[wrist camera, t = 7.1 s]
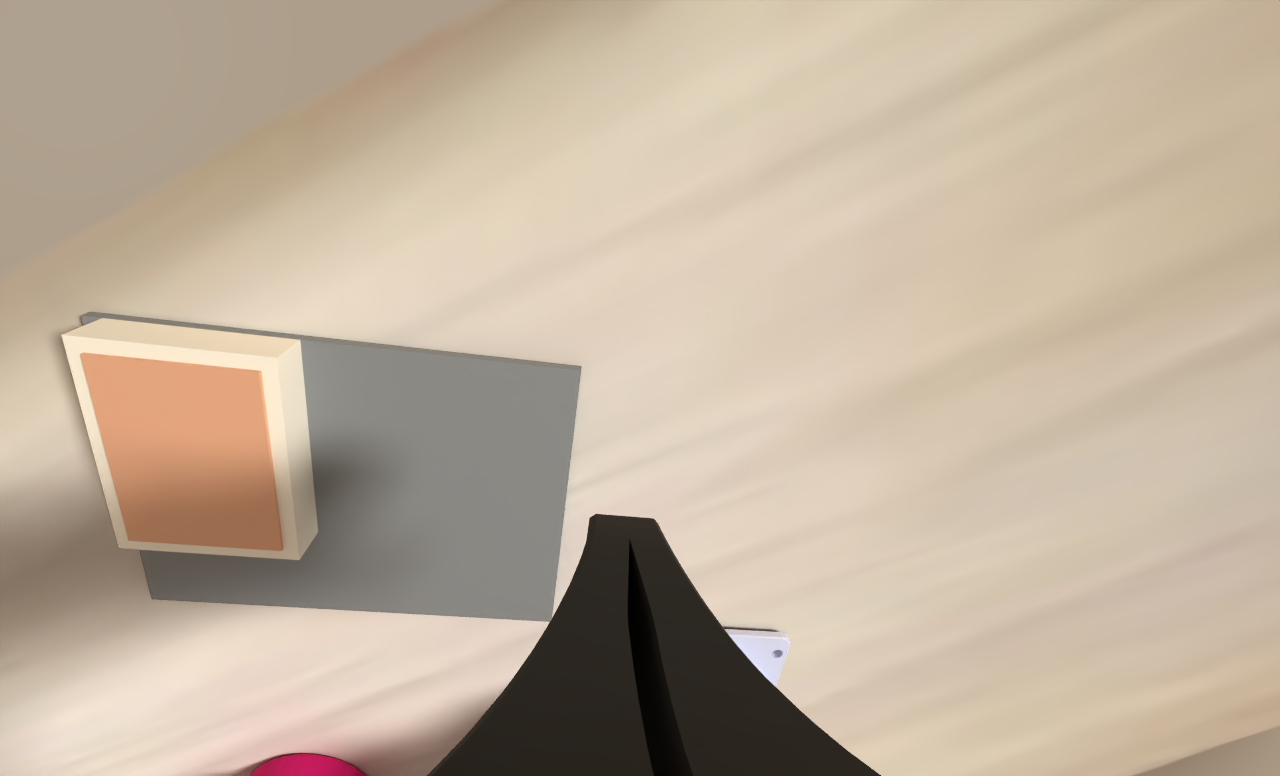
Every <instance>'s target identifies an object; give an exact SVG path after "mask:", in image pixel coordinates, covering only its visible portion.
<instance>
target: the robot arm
mask: <svg viewBox="0 0 1280 776" xmlns="http://www.w3.org/2000/svg"><path fill="white" fill-rule="evenodd" d="M789 647H790V641H789V638H788V636H787V635H786V634H785V633H782V632H770V631H752V630H735V629H724V628H723V627H722V626H721V624H720V623H719V621H718V620H717V619H716V617H715V616H714V615H713V613H712V612H711V611H710V609H709V608H708V606H707V605H706V604H705V602H704V601H703V599H702V598H701V596H700V595H699V593H698V592H697V590H696V589H695V587H694V586H693V584H692V583H691V581H690V579H689V578H688V576H687V575H686V573H685V572H684V570H683V568H682V567H681V565H680V563H679V562H678V560H677V558H676V556H675V555H674V553H673V551H672V549H671V548H670V546H669V544H668V542H667V540H666V539H665V537H664V535H663V533H662V531H661V529H660V527H659V525H658V523H657V522H656V521H655V520H654V519H652V518H640V517H627V516H615V515H602V514H595V515H594V516H592V517H591V518H590V519H589V526H588V534H587V541H586V544H585V547H584V550H583V553H582V556H581V559H580V561H579V564H578V566H577V569H576V571H575V573H574V576H573V578H572V581H571V583H570V585H569V587H568V589H567V591H566V593H565V595H564V597H563V599H562V601H561V603H560V605H559V607H558V609H557V611H556V612H555V614H554V616H553V618H552V620H551V621H550V623H549V625H548V626H547V628H546V630H545V631H544V633H543V635H542V636H541V638H540V640H539V641H538V643H537V644H536V646H535V647H534V649H533V650H532V652H531V653H530V655H529V656H528V658H527V659H526V661H525V662H524V663H523V665H522V666H521V668H520V669H519V671H518V672H517V673H516V675H515V676H514V678H513V679H512V680H511V682H510V683H509V684H508V686H507V687H506V688H505V689H504V691H503V692H502V693H501V695H500V696H499V697H498V698H497V699H496V701H495V702H494V703H493V704H492V705H491V707H490V708H489V709H488V710H487V711H486V713H485V714H484V715H483V716H482V717H481V719H480V720H479V721H478V722H477V723H476V725H475V726H474V727H473V728H472V729H471V730H470V731H469V733H468V734H467V735H466V736H465V737H464V738H463V739H462V740H461V741H460V742H459V743H458V744H457V745H456V746H455V748H454V749H453V750H452V751H451V752H450V753H449V754H448V755H447V756H446V757H445V758H444V759H443V760H442V761H441V762H440V763H439V764H438V765H437V766H436V767H435V768H434V769H433V770H432V771H431V772H430V773H429V774H428V775H427V776H881V775H879V774H878V773H877V772H875V771H874V770H873V769H871V768H870V767H869V766H867V765H866V764H865V763H863V762H862V761H861V760H859V759H858V758H857V757H855V756H854V755H852V754H851V753H850V752H848V751H847V750H846V749H845V748H843V747H842V746H841V745H840V744H839V743H837V742H836V741H835V740H834V739H833V738H831V737H830V736H829V735H828V734H827V733H825V732H824V731H823V730H822V729H821V728H819V727H818V726H817V725H816V724H815V723H814V722H812V721H811V720H810V719H809V718H808V717H807V716H806V715H805V714H803V713H802V712H801V711H800V710H799V709H798V708H797V707H796V706H795V705H794V704H793V703H792V702H791V701H790V700H789V699H788V698H787V697H785V696H784V695H783V694H782V693H781V692H780V691H779V690H778V689H777V688H776V684H777V681H778V679H779V676H780V673H781V670H782V667H783V664H784V661H785V659H786V656H787V653H788V650H789ZM775 650H777V651H775Z"/></svg>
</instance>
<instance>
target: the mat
mask: <svg viewBox="0 0 1280 776" xmlns="http://www.w3.org/2000/svg"><path fill="white" fill-rule="evenodd" d="M101 318H107V319H116V320H125V321H134V322H143V323H152V324H161V325H170V326H179V327H188V328H198V329H207V330H216V331H225V332H234V333H243V334H252V335H261V336H270V337H279V338H288V339H297V340H300V342H301V353H302V363H303V374H304V385H305V396H306V406H307V417H308V428H309V439H310V450H311V460H312V471H313V482H314V493H315V503H316V514H317V525H318V533H317V535H316V536H315V538H314V539H313V541H312V542H311V544H310V545H309V547H308V548H307V550H306V551H305V553H304V554H303V556H302V557H301V559H300V560H289V559H274V558H259V557H244V556H228V555H213V554H198V553H183V552H168V551H153V550H140V554H141V558H142V562H143V566H144V570H145V574H146V578H147V582H148V586H149V590H150V594H151V598H152V599H158V600H176V601H194V602H211V603H229V604H247V605H264V606H282V607H300V608H317V609H335V610H353V611H371V612H388V613H406V614H424V615H441V616H459V617H477V618H494V619H512V620H530V621H547V622H550V621H551V620H552V611H553V603H554V594H555V586H556V577H557V569H558V561H559V552H560V544H561V535H562V527H563V518H564V510H565V501H566V493H567V484H568V476H569V467H570V459H571V450H572V442H573V433H574V425H575V416H576V408H577V399H578V391H579V382H580V374H581V366H573V365H564V364H555V363H546V362H537V361H528V360H519V359H510V358H501V357H492V356H483V355H474V354H465V353H456V352H447V351H438V350H429V349H420V348H411V347H402V346H393V345H384V344H375V343H366V342H357V341H348V340H339V339H330V338H321V337H312V336H303V335H294V334H285V333H276V332H267V331H258V330H249V329H240V328H231V327H222V326H213V325H204V324H195V323H186V322H177V321H168V320H159V319H150V318H141V317H132V316H123V315H114V314H105V313H96V312H89V313H86V314H84V315H81V319H82V323H83V326H84V325H87V324H89V323H92V322H94V321H96V320H99V319H101Z"/></svg>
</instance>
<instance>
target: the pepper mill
mask: <svg viewBox="0 0 1280 776" xmlns="http://www.w3.org/2000/svg"><path fill="white" fill-rule="evenodd" d="M250 776H365V774H363V773H362V772H361V771H359V770H358V769H357V768H355V767H354V766H352V765H350V764H348V763H346V762H343V761H341V760H338V759H336V758H332V757H328V756H323V755H315V754H295V755H288V756H282V757H279V758H276V759H272V760H270V761H268V762H266V763H265V764H263V765H261V766H260V767H258V768H257V769H255V770H254V771H253V772H252V773H251V774H250Z"/></svg>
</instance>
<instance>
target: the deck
mask: <svg viewBox="0 0 1280 776" xmlns="http://www.w3.org/2000/svg"><path fill="white" fill-rule="evenodd" d="M62 339H63V343H64V346H65V350H66V354H67V358H68V361H69V365H70V369H71V372H72V376H73V380H74V384H75V387H76V391H77V395H78V398H79V402H80V406H81V410H82V413H83V417H84V421H85V424H86V428H87V432H88V436H89V439H90V443H91V447H92V450H93V454H94V458H95V462H96V465H97V469H98V473H99V476H100V480H101V484H102V488H103V491H104V495H105V499H106V503H107V506H108V510H109V514H110V517H111V521H112V525H113V529H114V532H115V536H116V540H117V543H118V547H119V548H122V549H138V550H153V551H168V552H183V553H198V554H213V555H228V556H244V557H259V558H274V559H289V560H300V559H301V557H302V556H303V554H304V553H305V551H306V550H307V548H308V547H309V545H310V544H311V542H312V541H313V539H314V538H315V536H316V535H317V533H318V525H317V514H316V503H315V493H314V482H313V471H312V460H311V450H310V439H309V428H308V417H307V406H306V396H305V385H304V374H303V363H302V353H301V342H300V340H297V339H288V338H279V337H270V336H261V335H252V334H243V333H234V332H225V331H216V330H207V329H198V328H188V327H179V326H170V325H161V324H152V323H143V322H134V321H125V320H116V319H107V318H101V319H99V320H96V321H94V322H92V323H89V324H87V325H84V326H82V327H79V328H77V329H74V330H72V331H70V332H67V333H65V334H62Z"/></svg>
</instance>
